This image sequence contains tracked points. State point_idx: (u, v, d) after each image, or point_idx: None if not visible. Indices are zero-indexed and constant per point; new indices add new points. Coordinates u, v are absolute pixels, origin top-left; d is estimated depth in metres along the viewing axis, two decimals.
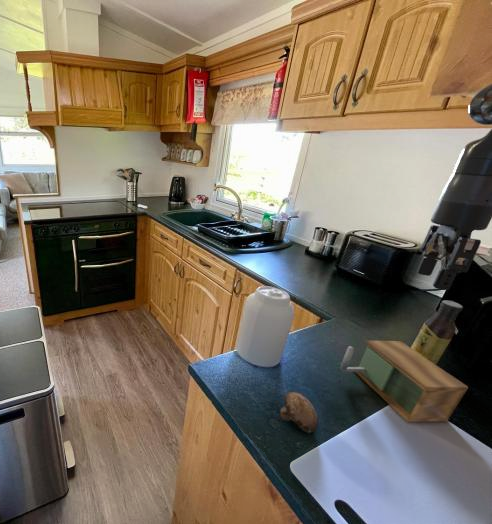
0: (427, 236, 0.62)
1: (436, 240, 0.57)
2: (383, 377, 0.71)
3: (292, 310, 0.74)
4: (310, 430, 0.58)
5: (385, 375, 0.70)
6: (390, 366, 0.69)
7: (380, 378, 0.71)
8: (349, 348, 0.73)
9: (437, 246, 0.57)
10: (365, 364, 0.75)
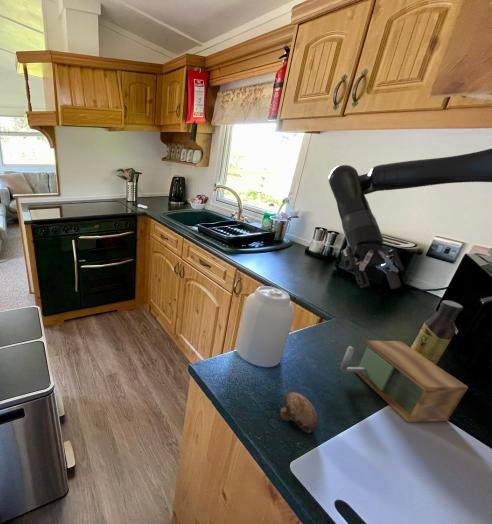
0: None
1: None
2: (383, 377, 0.71)
3: (292, 310, 0.74)
4: (310, 431, 0.58)
5: (385, 375, 0.70)
6: (390, 366, 0.69)
7: (380, 378, 0.71)
8: (349, 348, 0.73)
9: None
10: (365, 364, 0.75)
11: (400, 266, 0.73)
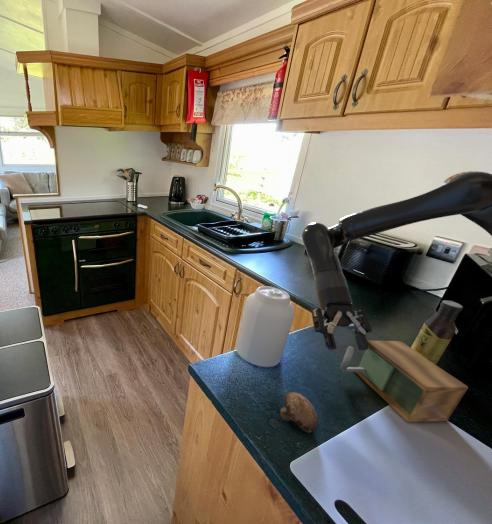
0: None
1: None
2: (383, 377, 0.71)
3: (292, 310, 0.74)
4: (310, 431, 0.58)
5: (385, 375, 0.70)
6: (390, 366, 0.69)
7: (380, 378, 0.71)
8: (349, 348, 0.73)
9: None
10: (365, 364, 0.75)
11: (368, 328, 0.76)
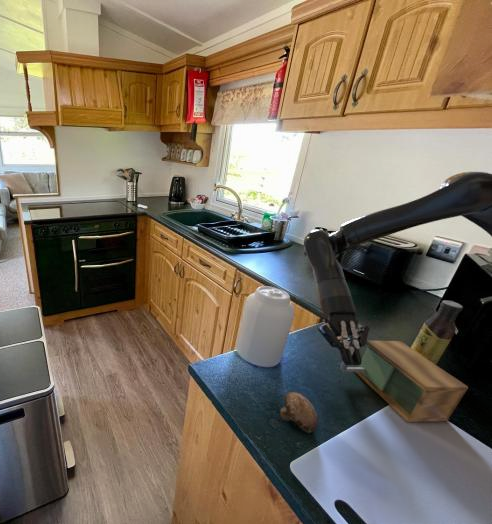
0: None
1: None
2: (383, 377, 0.71)
3: (292, 310, 0.74)
4: (310, 431, 0.58)
5: (385, 375, 0.70)
6: (390, 366, 0.69)
7: (380, 378, 0.71)
8: (349, 348, 0.73)
9: None
10: (365, 364, 0.75)
11: (363, 342, 0.74)
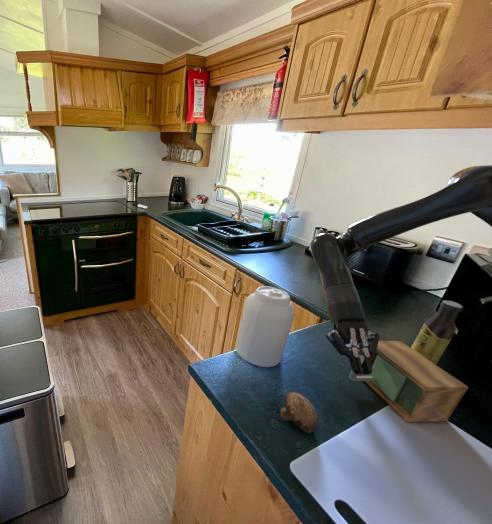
0: None
1: None
2: (394, 387, 0.68)
3: (292, 310, 0.74)
4: (310, 430, 0.58)
5: (397, 385, 0.67)
6: (402, 376, 0.66)
7: (391, 388, 0.68)
8: (359, 356, 0.70)
9: None
10: (375, 373, 0.73)
11: (373, 350, 0.71)
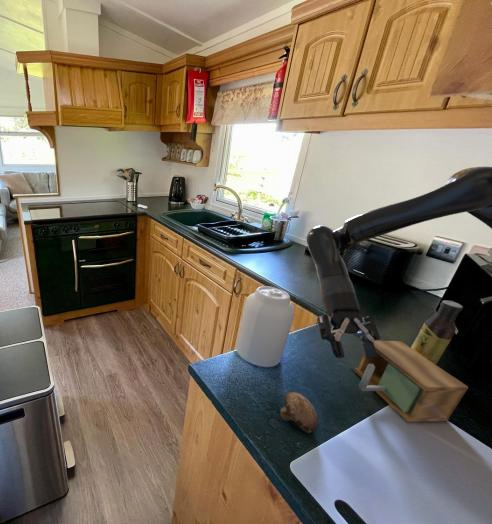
0: None
1: None
2: (407, 398, 0.65)
3: (292, 310, 0.74)
4: (310, 430, 0.58)
5: (409, 396, 0.64)
6: (415, 386, 0.63)
7: (403, 399, 0.65)
8: (369, 366, 0.67)
9: None
10: (386, 383, 0.70)
11: (377, 335, 0.73)
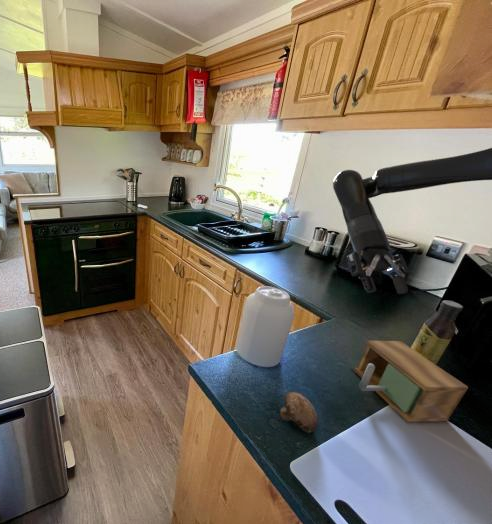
0: None
1: None
2: (407, 398, 0.65)
3: (292, 310, 0.74)
4: (310, 430, 0.58)
5: (409, 396, 0.64)
6: (415, 386, 0.63)
7: (403, 399, 0.65)
8: (369, 366, 0.67)
9: None
10: (386, 383, 0.70)
11: (407, 271, 0.73)
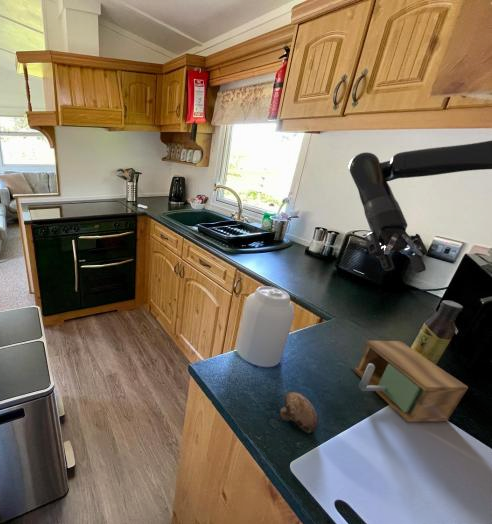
0: None
1: None
2: (407, 398, 0.65)
3: (292, 310, 0.74)
4: (310, 431, 0.58)
5: (409, 396, 0.64)
6: (415, 386, 0.63)
7: (403, 399, 0.65)
8: (369, 366, 0.67)
9: None
10: (386, 383, 0.70)
11: (424, 250, 0.74)
